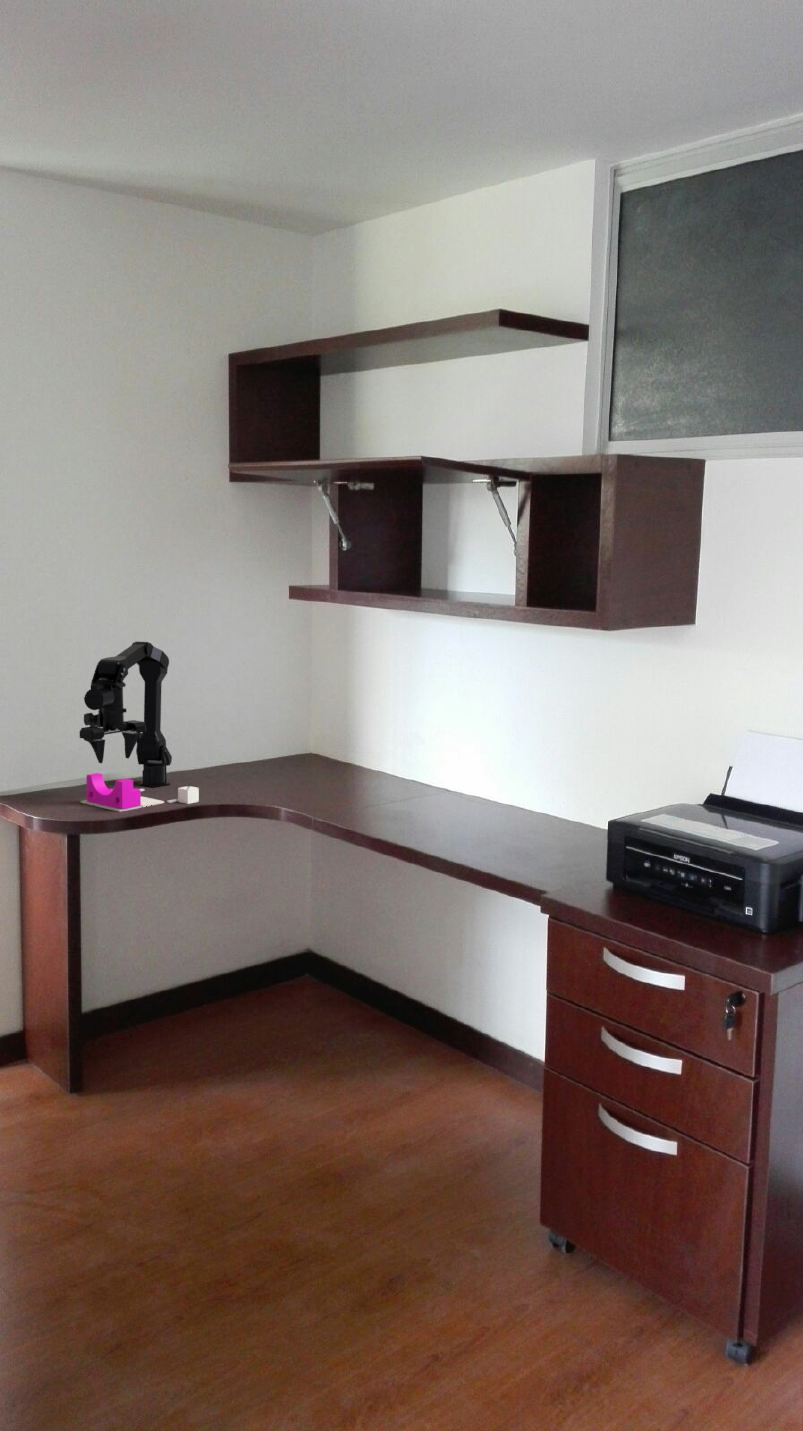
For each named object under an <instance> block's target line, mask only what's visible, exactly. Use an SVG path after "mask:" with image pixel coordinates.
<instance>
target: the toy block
mask: <svg viewBox="0 0 803 1431" xmlns="http://www.w3.org/2000/svg"><path fill="white" fill-rule="evenodd" d="M139 789H140V788H136V787H135V788H134V780H133V779H130V778H125V779H124V778H123V779H118V780H116V781H115V783H114V787H113V788H108V787H107V785H106V783H105V780H104V777H103V773H100V772H96V773H91V774H86V800H87V802H91V803H95V804H100V805H104V806H109V807H113V808H118V809H122V810H123V809H128V808H133V807H138V806H141V794H142V793H141V792H142V791H141V790H139Z"/></svg>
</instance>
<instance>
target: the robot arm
mask: <svg viewBox="0 0 803 1431" xmlns="http://www.w3.org/2000/svg"><path fill="white" fill-rule="evenodd" d="M135 665H137V666H138V672H139V674H140V677H141V679H142V680H143V682H144V691H143V692H144V693H143V694H144V696H143V697H144V700H143V701H144V702H143V707H144V708H143V721H141V720H135V719H132V720H126V721H125V720H124V713H127V708H125V707H124V688H125V687H126V686H127V685H126V683H125V682H124V680H125V678H127V676H128V675H129V669H130V668H133V666H135ZM169 665H170V659H169V656H168V655H167V653H165V652H164V651H163V650H162V649H160V648H158V647H156V646H154V645H153V644H152V643H150V642H148V641H134V642H132V644H131V645H130V646H128V647H127V648H126V649H124V650H123V651H121V652H120V653H119V654H117V655H115V656H111V657H109V656H107V657H104V658H101V659H100V660H99V661H98V662H97V665H96V667H95V670H94V673H93V676H92V679H91V682H90V689H89V690H87V691H86V692H85V694H84V697H83V699H84V704H85V706H86V707H87V708H88V709H90V710H91V711H98V712H97V714H93V712H87V713H84V714H83V723H84V725H85V726H86V727H81V728H80V730H79V739H83V741H85V742H88V743H89V744H90V746H91V748H92V750H93V752H94V755H95V757H96V759H97V762H98V764H103V761H104V756H105V755H104V754H105V746H106V744H105V743H106V739H104V737H105V735H111V734H112V735H113V734H116V733H121V734H122V736H123V738H124V755H125V759H130V757H131V755H132V753H133V750H134V748H135V746H136V749H135V751H136V752H135V753H136V756H137V757H136V759H137V764H138V765H142V767H143V770H142V782H139V785H142V786H146V787H151V788H156V787H157V788H158V787H163V786H167V785H171V782H169V781H168V780H167V778H168V777H167V766H171V764H172V758H173V757H172V754H171V752H170V751H169V749H168V747H167V740H166V738H165V736H164V735H163V733H162V730H161V728H162V727H161V726H162V725H161V723H162V722H161V721H162V720H161V719H162V682H163V681H164V679H165V678H166V676H167V674H168V667H169Z"/></svg>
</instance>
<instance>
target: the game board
mask: <svg viewBox="0 0 803 1431" xmlns="http://www.w3.org/2000/svg"><path fill="white" fill-rule="evenodd" d="M138 789H139V790H141V792H144V791H145V788H138ZM176 802H178V798H174V799H169V800H166V803H169V804H171V803H176ZM81 803H82V804H84V805H90V806H93V805H94V806H93V807H97V808H101V809H107V810H110V811H115V812H119V813H121V812H126V811H131V810H136V809H141V808H145V807H146V806H147V807H151V805H152V806H157V805H161V804H165V801H163V800H161V799H156V798H151V797H147V796H141V806H138V807H133V808H128V809H123V810H122V809H118V808H113V807H109V806H104V805H100V804H95V803H91V802H87V799H83V800H80V804H81Z"/></svg>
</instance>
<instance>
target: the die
mask: <svg viewBox="0 0 803 1431" xmlns="http://www.w3.org/2000/svg"><path fill="white" fill-rule="evenodd" d="M199 789H200V788H199V787H195V786H190V785H188V786H187V785H186V786H181V787H178V788H177V793H178V794H177V799H178V801H177V802H178V803H181V804H187V805H189V804H194V803H199V800H200V799H199V797H200V796H199V794H200V793H199V791H200V790H199Z"/></svg>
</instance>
